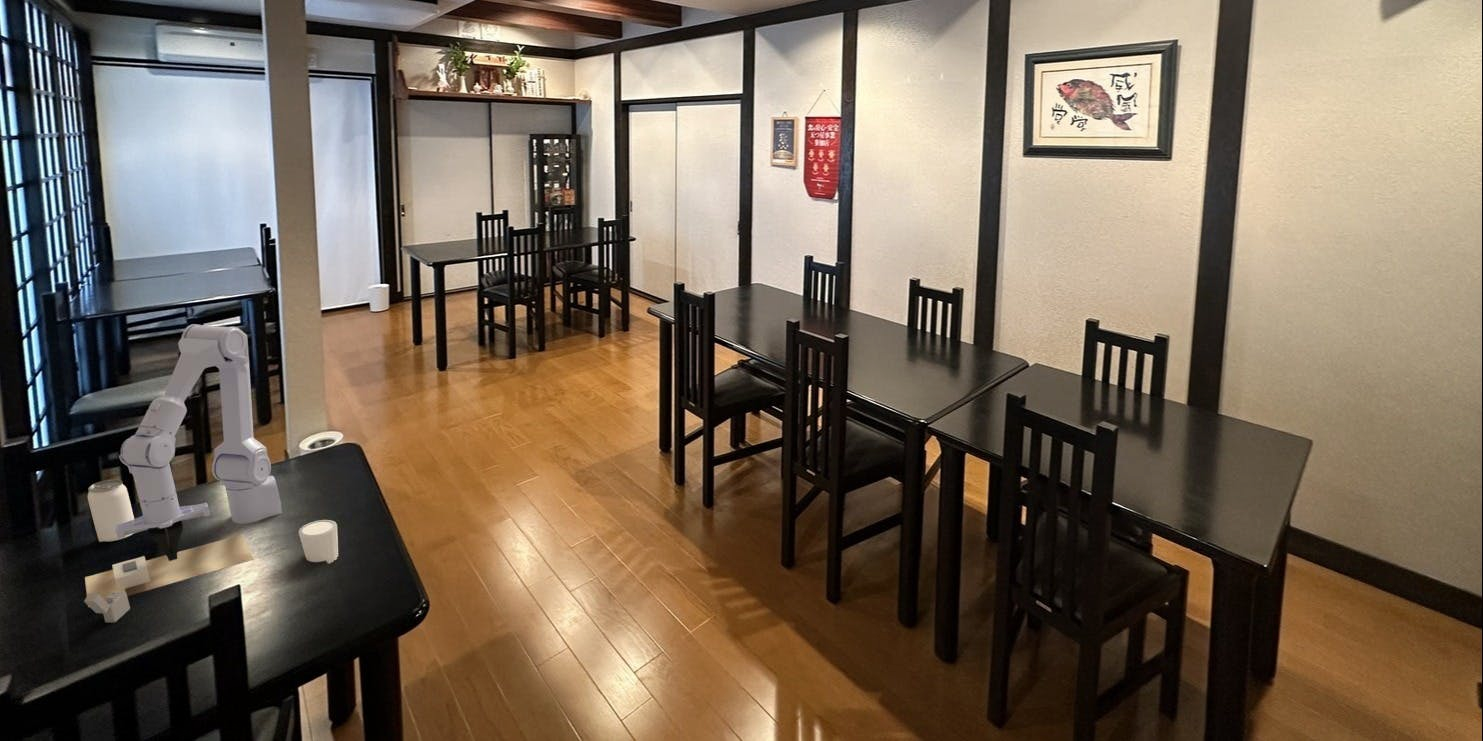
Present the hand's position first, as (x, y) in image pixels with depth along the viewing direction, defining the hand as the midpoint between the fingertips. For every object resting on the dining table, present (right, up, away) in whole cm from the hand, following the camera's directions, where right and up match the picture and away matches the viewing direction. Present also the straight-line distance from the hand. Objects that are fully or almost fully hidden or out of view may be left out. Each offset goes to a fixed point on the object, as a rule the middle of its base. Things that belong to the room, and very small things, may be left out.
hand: (172, 557), depth 156 cm
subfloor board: (0, -3, +1) cm, 3 cm away
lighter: (0, -8, -15) cm, 17 cm away
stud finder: (-5, -3, -3) cm, 7 cm away
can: (-20, +1, +12) cm, 23 cm away
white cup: (+26, -2, +7) cm, 27 cm away
